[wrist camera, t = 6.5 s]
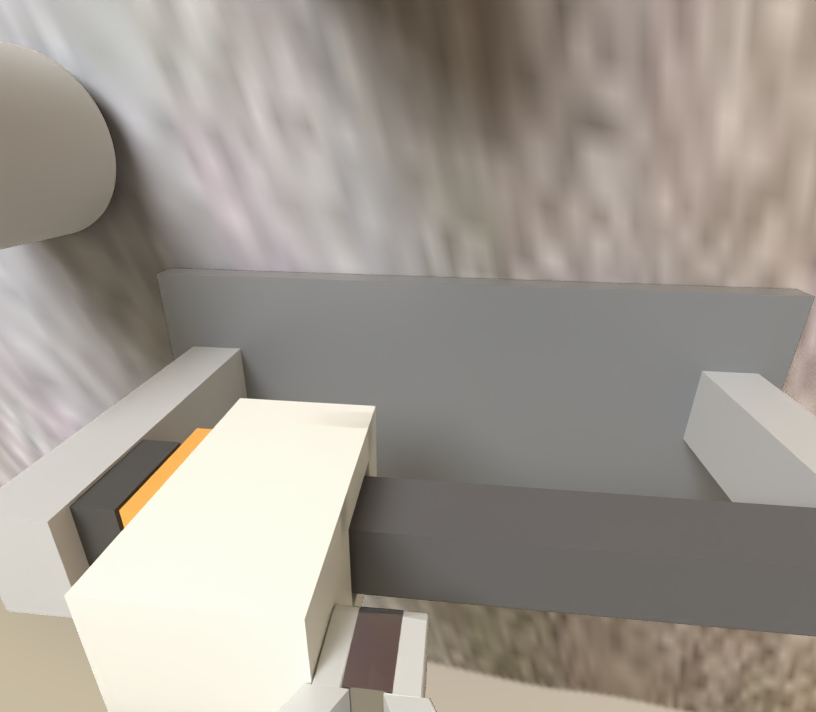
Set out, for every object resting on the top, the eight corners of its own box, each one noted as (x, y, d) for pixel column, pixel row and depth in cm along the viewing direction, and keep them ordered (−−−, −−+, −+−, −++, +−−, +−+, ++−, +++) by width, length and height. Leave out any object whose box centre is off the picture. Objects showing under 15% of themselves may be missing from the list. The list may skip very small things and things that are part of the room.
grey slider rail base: (796, 289, 17) (1256, 476, 7) (728, 488, 21) (976, 798, 11) (170, 268, 20) (-137, 391, 9) (205, 452, 23) (8, 685, 13)
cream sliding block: (375, 405, 14) (304, 619, 7) (377, 530, 15) (322, 786, 9) (240, 398, 14) (63, 595, 8) (258, 521, 16) (127, 761, 10)
